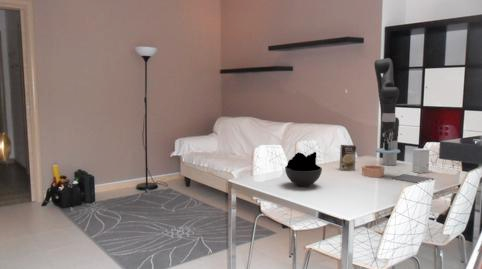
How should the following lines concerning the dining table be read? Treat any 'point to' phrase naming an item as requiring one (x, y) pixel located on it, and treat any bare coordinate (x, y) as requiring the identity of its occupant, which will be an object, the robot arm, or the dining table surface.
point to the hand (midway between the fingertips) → (387, 149)
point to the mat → (411, 178)
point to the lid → (389, 151)
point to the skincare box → (420, 160)
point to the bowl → (372, 171)
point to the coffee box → (347, 157)
